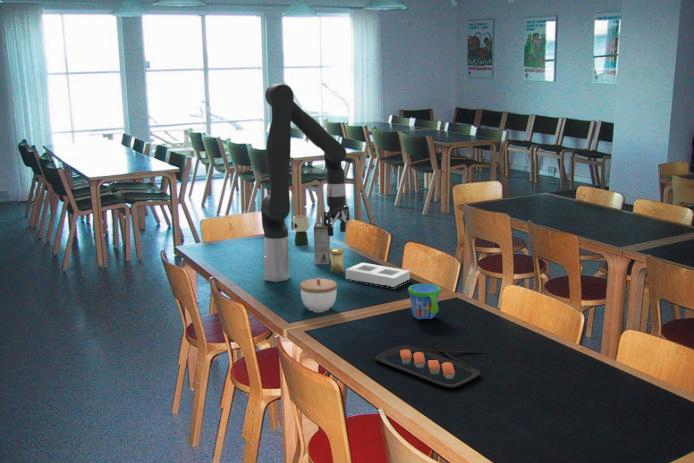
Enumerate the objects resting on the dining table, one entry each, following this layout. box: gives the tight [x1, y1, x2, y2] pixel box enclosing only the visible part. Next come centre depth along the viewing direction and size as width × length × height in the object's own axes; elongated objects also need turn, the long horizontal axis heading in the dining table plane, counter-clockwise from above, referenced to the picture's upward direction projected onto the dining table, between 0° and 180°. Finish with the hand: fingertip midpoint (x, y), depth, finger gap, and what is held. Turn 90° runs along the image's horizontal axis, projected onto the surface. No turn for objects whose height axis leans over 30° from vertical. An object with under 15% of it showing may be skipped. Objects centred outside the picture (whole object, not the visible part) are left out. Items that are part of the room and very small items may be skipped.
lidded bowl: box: [299, 277, 338, 313], centre depth 249 cm, size 13×13×11 cm
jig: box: [345, 262, 411, 287], centre depth 283 cm, size 12×22×4 cm, turn 56°
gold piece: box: [330, 247, 345, 274], centre depth 294 cm, size 6×6×9 cm
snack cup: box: [407, 283, 442, 320], centre depth 241 cm, size 16×10×10 cm
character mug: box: [292, 215, 310, 245], centre depth 338 cm, size 11×7×13 cm, turn 14°
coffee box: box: [313, 222, 331, 265], centre depth 308 cm, size 9×6×16 cm
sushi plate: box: [374, 344, 481, 389], centre depth 207 cm, size 29×30×4 cm
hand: (336, 233), depth 292 cm, fingers open, 8 cm apart
